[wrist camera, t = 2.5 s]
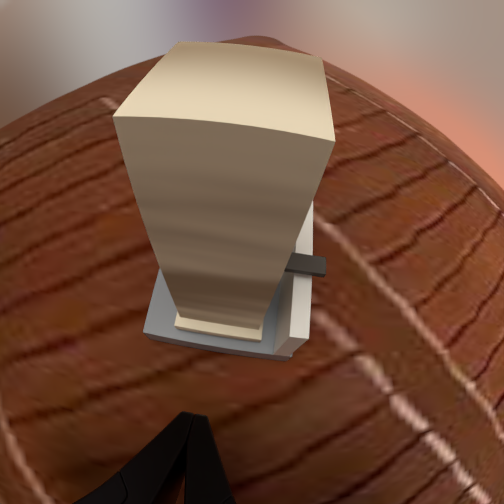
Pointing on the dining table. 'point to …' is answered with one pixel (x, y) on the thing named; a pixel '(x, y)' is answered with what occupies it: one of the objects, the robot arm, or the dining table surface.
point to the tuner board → (275, 320)
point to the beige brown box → (227, 175)
